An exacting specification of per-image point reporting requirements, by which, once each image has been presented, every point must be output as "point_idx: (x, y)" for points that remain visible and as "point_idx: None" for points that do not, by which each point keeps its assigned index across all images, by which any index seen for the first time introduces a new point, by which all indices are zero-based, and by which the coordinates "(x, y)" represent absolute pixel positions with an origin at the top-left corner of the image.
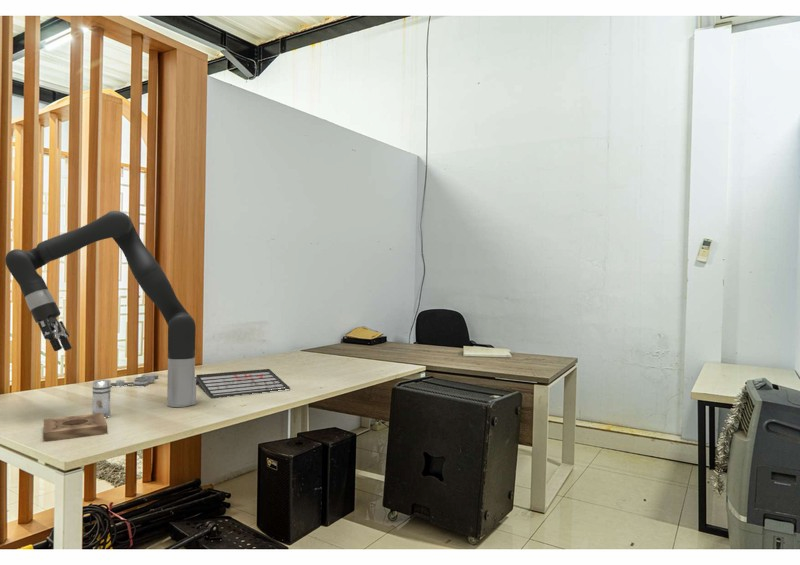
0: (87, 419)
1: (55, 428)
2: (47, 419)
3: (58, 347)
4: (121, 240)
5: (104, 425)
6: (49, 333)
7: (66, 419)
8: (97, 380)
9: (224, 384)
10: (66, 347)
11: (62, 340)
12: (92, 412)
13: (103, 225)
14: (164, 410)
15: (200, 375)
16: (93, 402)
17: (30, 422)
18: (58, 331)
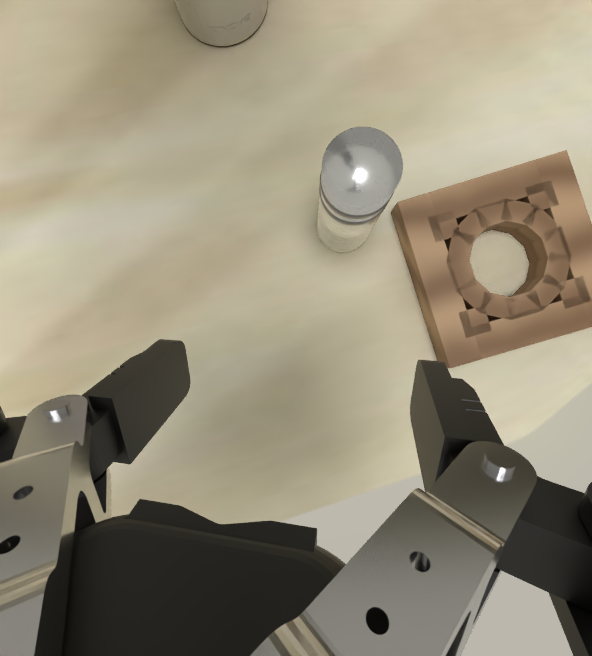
0: (479, 229)
1: (576, 297)
2: (455, 355)
3: (463, 382)
4: None
5: (568, 158)
6: (474, 614)
7: (466, 295)
8: (344, 189)
9: None
10: (176, 380)
11: (124, 441)
12: (354, 246)
13: None
14: (296, 46)
15: None
16: (369, 229)
17: (368, 424)
18: (220, 525)
